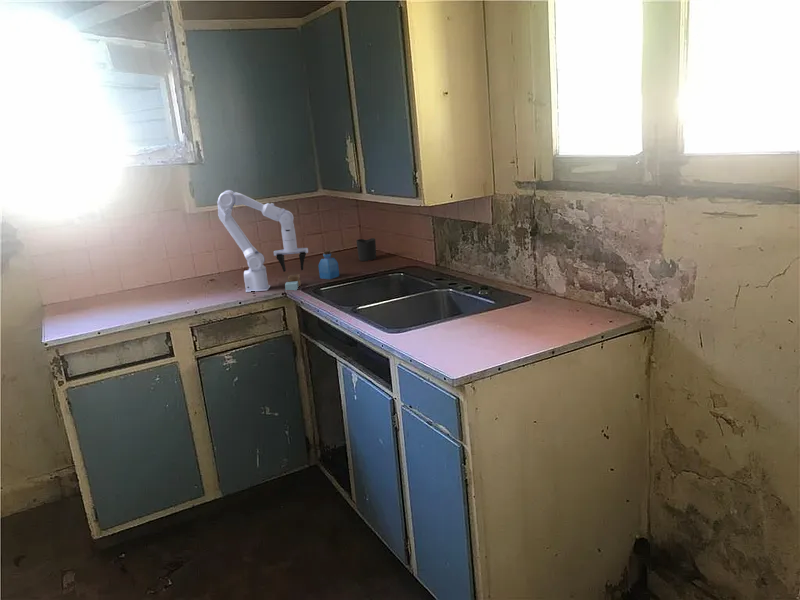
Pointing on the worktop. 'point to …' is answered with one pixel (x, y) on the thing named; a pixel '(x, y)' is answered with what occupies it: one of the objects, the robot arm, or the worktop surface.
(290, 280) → the walnut cube
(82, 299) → the worktop surface
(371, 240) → the pen holder
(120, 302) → the worktop surface
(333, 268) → the perfume bottle
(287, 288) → the blue block
